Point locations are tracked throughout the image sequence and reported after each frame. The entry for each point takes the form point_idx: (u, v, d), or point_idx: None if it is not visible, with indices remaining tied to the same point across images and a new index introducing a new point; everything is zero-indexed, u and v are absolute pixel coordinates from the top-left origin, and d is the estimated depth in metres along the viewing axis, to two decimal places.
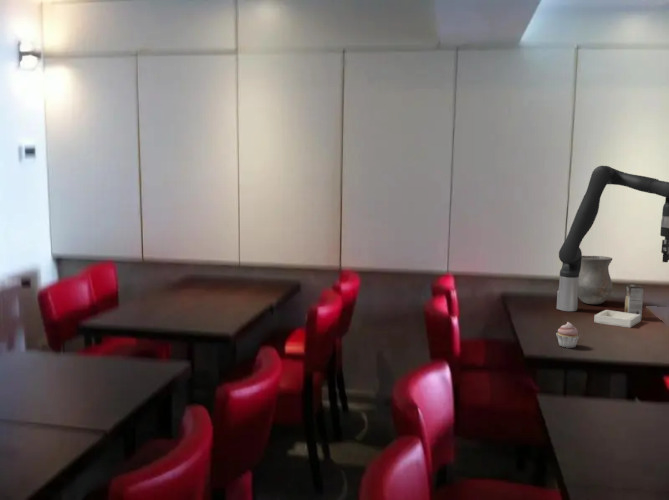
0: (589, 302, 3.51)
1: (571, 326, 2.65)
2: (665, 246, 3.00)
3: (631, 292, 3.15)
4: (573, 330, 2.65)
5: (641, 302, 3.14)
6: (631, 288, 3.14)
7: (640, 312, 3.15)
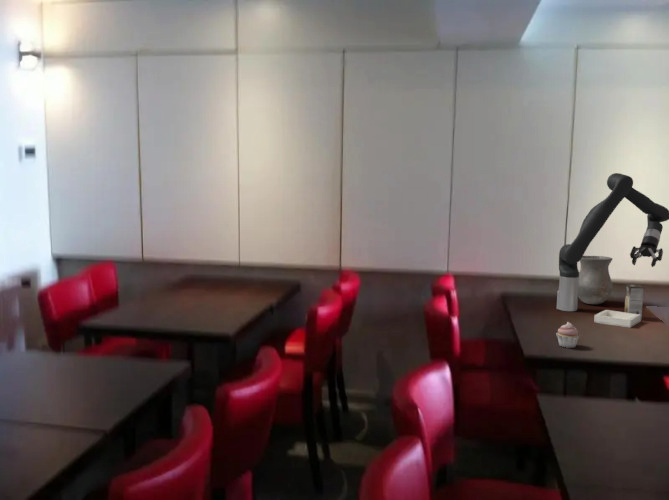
0: (589, 302, 3.51)
1: (571, 326, 2.65)
2: (661, 255, 3.25)
3: (631, 292, 3.15)
4: (573, 330, 2.65)
5: (641, 302, 3.14)
6: (631, 288, 3.14)
7: (640, 312, 3.15)
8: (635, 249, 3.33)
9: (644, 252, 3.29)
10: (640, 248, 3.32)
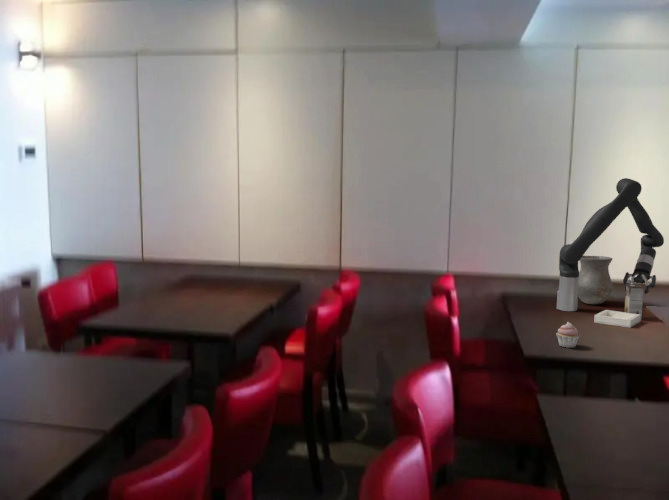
0: (589, 302, 3.51)
1: (571, 326, 2.65)
2: (655, 281, 3.20)
3: (631, 292, 3.15)
4: (573, 330, 2.65)
5: (641, 302, 3.14)
6: (631, 288, 3.14)
7: (640, 312, 3.15)
8: (628, 275, 3.28)
9: (637, 278, 3.24)
10: (633, 274, 3.27)
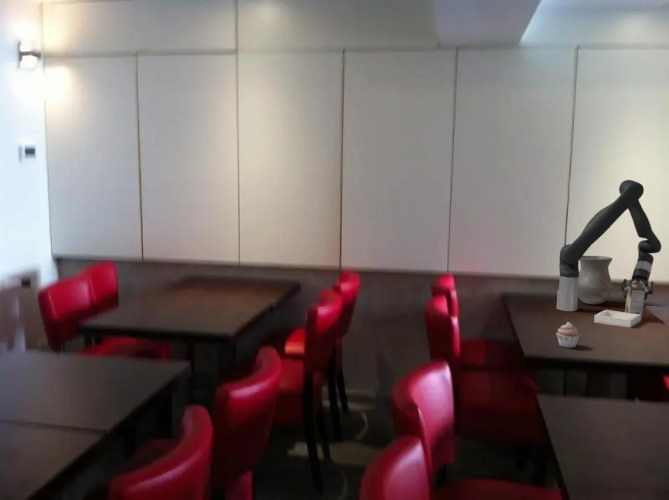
0: (589, 302, 3.51)
1: (571, 326, 2.65)
2: (653, 288, 3.18)
3: (632, 294, 3.12)
4: (573, 330, 2.65)
5: (642, 303, 3.12)
6: (633, 290, 3.11)
7: (640, 313, 3.14)
8: (626, 282, 3.25)
9: None
10: (631, 281, 3.24)
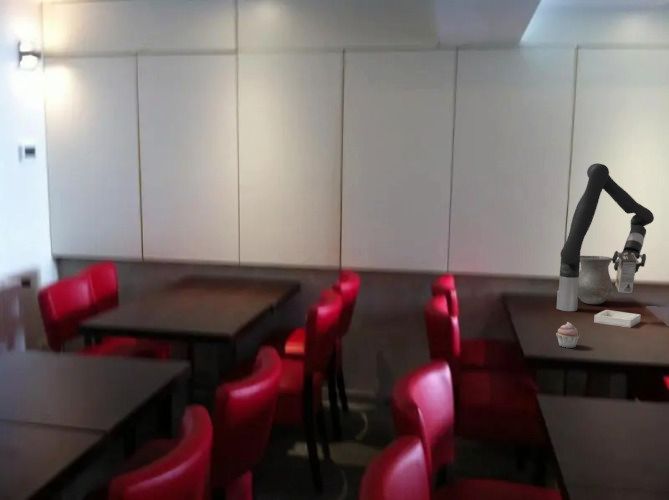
0: (589, 302, 3.51)
1: (571, 326, 2.65)
2: (645, 260, 3.10)
3: (623, 266, 3.04)
4: (573, 330, 2.65)
5: (633, 275, 3.05)
6: (623, 262, 3.04)
7: (631, 285, 3.07)
8: (617, 254, 3.17)
9: None
10: (622, 253, 3.16)
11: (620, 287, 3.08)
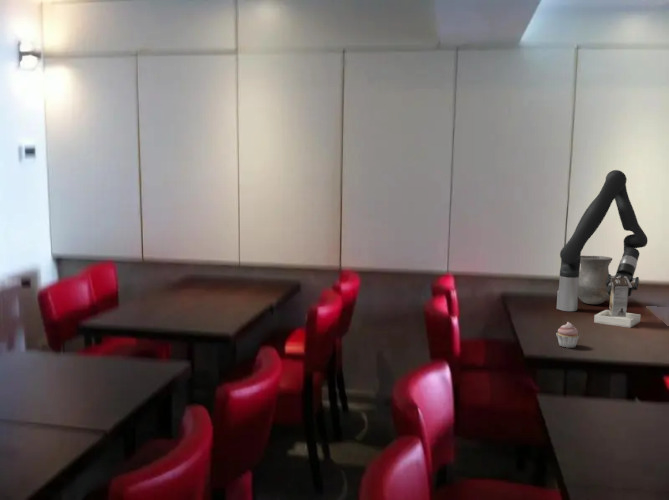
0: (589, 302, 3.51)
1: (571, 326, 2.65)
2: (638, 283, 3.08)
3: (615, 290, 3.02)
4: (573, 330, 2.65)
5: (626, 299, 3.03)
6: (615, 286, 3.02)
7: (625, 309, 3.05)
8: (610, 277, 3.15)
9: None
10: (615, 276, 3.14)
11: (613, 311, 3.06)
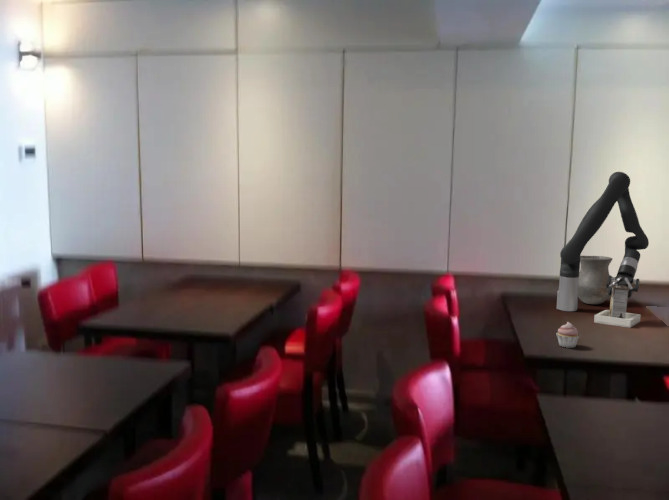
0: (589, 302, 3.51)
1: (571, 326, 2.65)
2: (638, 285, 3.09)
3: (615, 293, 3.05)
4: (573, 330, 2.65)
5: (625, 304, 3.05)
6: (615, 289, 3.05)
7: (624, 314, 3.06)
8: (611, 278, 3.17)
9: (620, 282, 3.13)
10: (616, 277, 3.16)
11: (612, 316, 3.07)
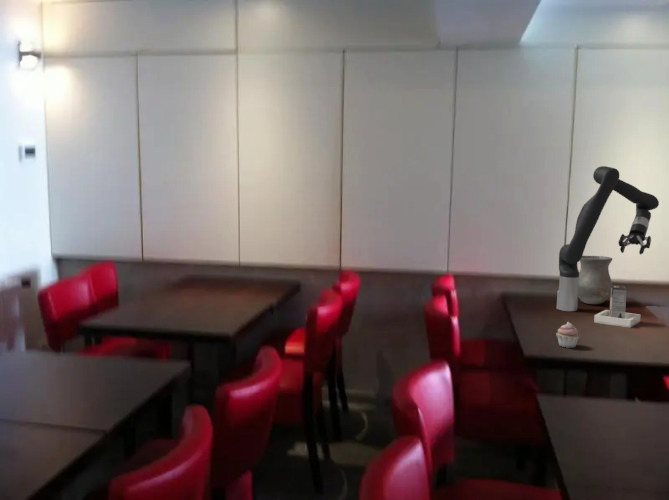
0: (589, 302, 3.51)
1: (571, 326, 2.65)
2: (650, 242, 3.25)
3: (613, 293, 3.06)
4: (573, 330, 2.65)
5: (624, 303, 3.05)
6: (613, 289, 3.06)
7: (623, 314, 3.06)
8: (623, 237, 3.33)
9: (632, 240, 3.29)
10: (628, 236, 3.32)
11: (612, 316, 3.08)
